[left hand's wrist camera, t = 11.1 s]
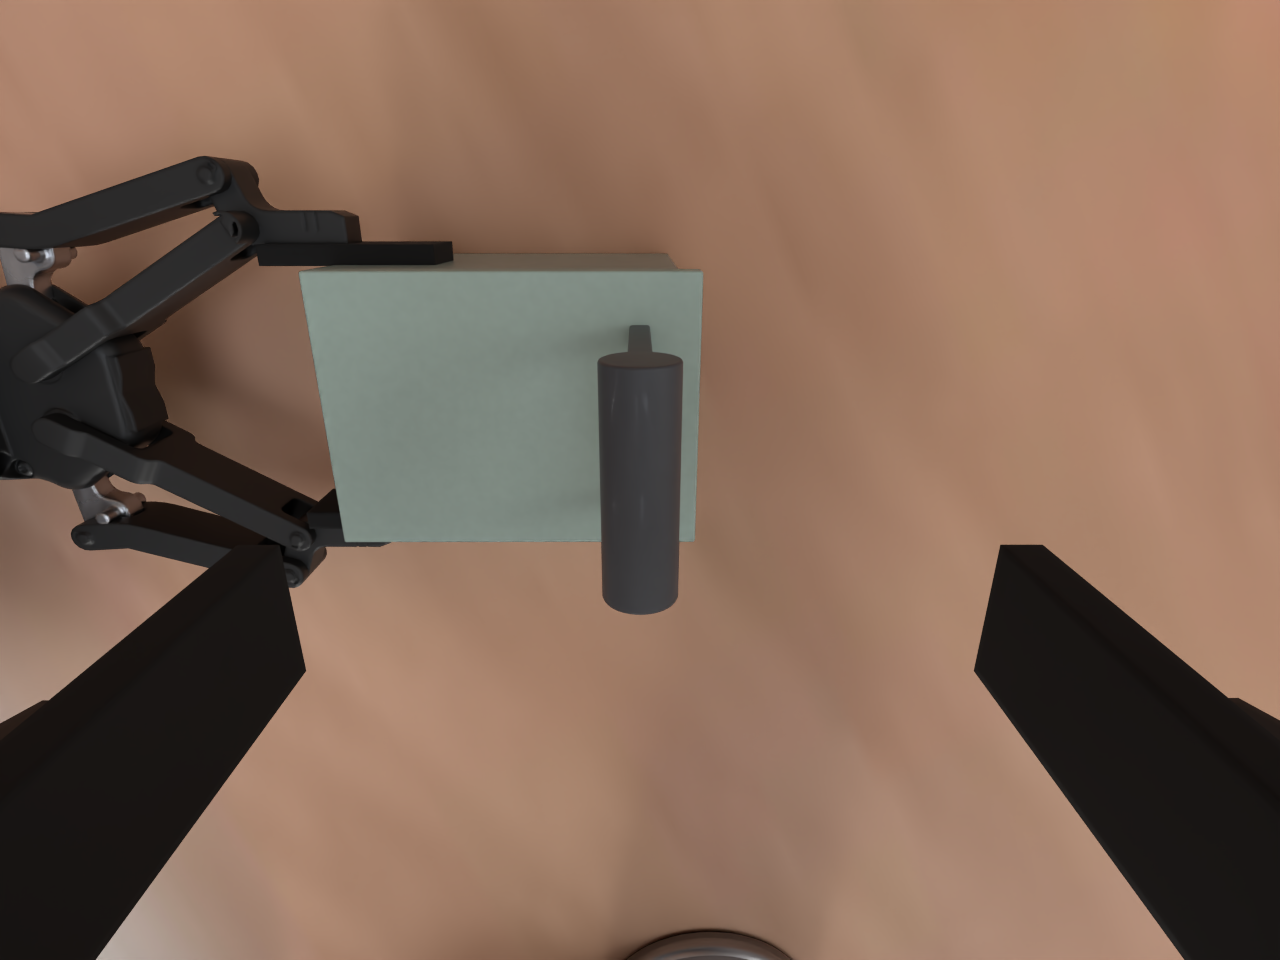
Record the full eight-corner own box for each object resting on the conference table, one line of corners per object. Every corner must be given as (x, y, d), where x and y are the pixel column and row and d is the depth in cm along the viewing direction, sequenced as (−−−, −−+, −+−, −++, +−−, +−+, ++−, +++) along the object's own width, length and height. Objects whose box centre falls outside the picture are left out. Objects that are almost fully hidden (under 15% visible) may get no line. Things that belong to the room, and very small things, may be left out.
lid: (701, 268, 24) (733, 297, 16) (693, 531, 27) (716, 665, 19) (310, 269, 24) (140, 298, 16) (353, 532, 27) (234, 666, 19)
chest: (668, 253, 33) (679, 268, 24) (665, 452, 36) (673, 531, 27) (400, 253, 33) (310, 268, 24) (424, 452, 36) (354, 531, 27)
